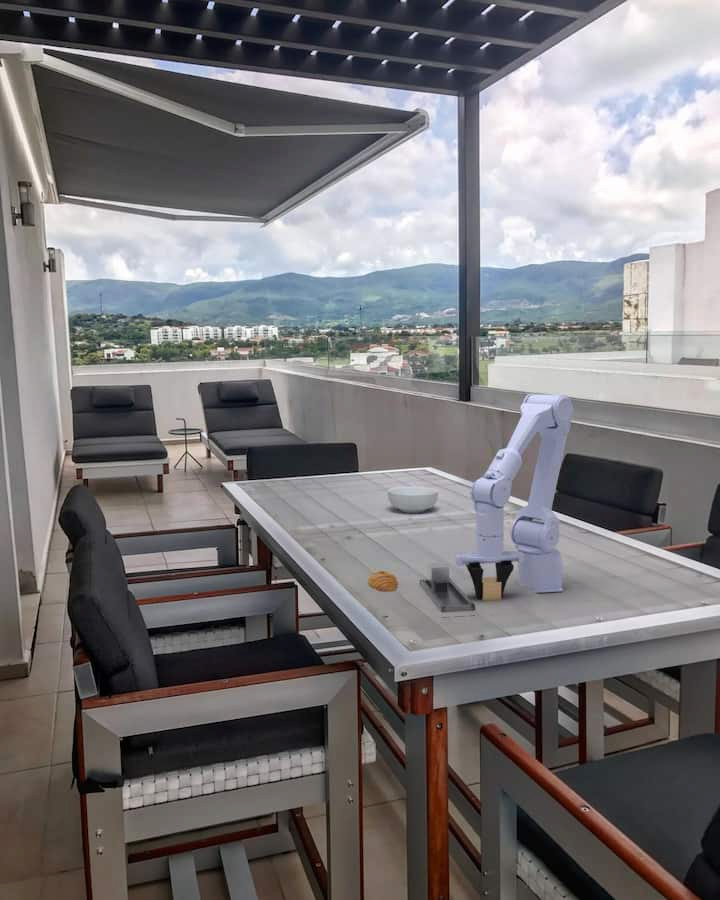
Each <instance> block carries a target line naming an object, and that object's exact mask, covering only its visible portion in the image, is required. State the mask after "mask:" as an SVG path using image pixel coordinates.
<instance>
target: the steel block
mask: <svg viewBox="0 0 720 900" xmlns="http://www.w3.org/2000/svg"><path fill="white" fill-rule="evenodd" d="M426 573H427V585H428V586H429V587H430V588H431V590H436V592H445V591H447V589H449V578H450V567H449V565H448V564H447V563H446V562H430V563H429V562H428V563H427V571H426Z"/></svg>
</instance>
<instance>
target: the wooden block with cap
mask: <svg viewBox="0 0 720 900" xmlns="http://www.w3.org/2000/svg"><path fill="white" fill-rule="evenodd" d="M480 600H482V601H495V600H496V601H497V600H502V597H501V581H500V580H499V579H497V576H487V577H486V576H484V577H482V598H480Z"/></svg>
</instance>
